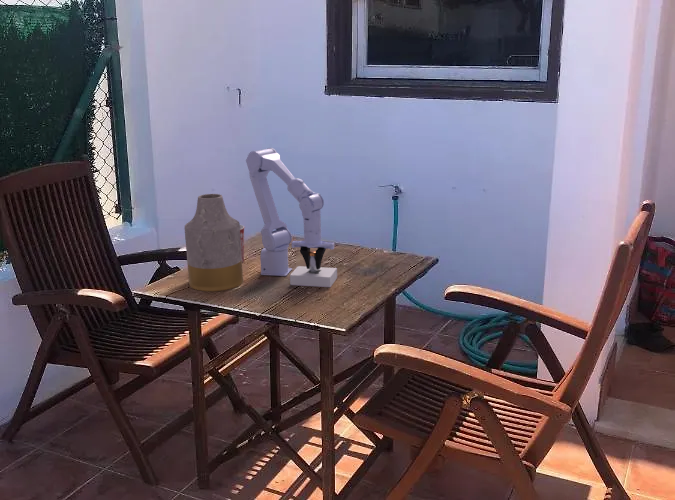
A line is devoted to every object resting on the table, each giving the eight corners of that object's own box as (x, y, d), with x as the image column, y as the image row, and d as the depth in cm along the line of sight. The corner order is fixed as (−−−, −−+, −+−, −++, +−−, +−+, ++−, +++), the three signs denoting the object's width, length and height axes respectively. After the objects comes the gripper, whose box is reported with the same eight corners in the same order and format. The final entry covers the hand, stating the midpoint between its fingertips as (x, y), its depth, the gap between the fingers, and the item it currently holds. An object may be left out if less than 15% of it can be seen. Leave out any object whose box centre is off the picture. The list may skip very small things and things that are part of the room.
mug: (251, 260, 275) (249, 225, 271) (237, 266, 267) (234, 231, 264) (224, 255, 281) (222, 222, 277) (209, 262, 273) (207, 227, 269)
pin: (308, 278, 249) (307, 253, 246) (311, 275, 251) (310, 250, 249) (316, 278, 248) (315, 253, 245) (319, 276, 250) (318, 251, 248)
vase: (196, 295, 239) (188, 204, 231) (184, 278, 256) (176, 193, 247) (249, 286, 246) (244, 198, 238) (234, 271, 262) (229, 188, 254)
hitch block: (290, 284, 247) (289, 275, 246) (298, 275, 256) (298, 266, 255) (330, 287, 244) (330, 277, 243) (337, 277, 253) (336, 268, 252)
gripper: (288, 232, 243) (289, 270, 247) (330, 233, 239) (331, 272, 243) (294, 226, 249) (295, 264, 253) (335, 228, 246) (336, 266, 250)
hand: (313, 268), depth 249 cm, fingers closed on pin, 3 cm apart
